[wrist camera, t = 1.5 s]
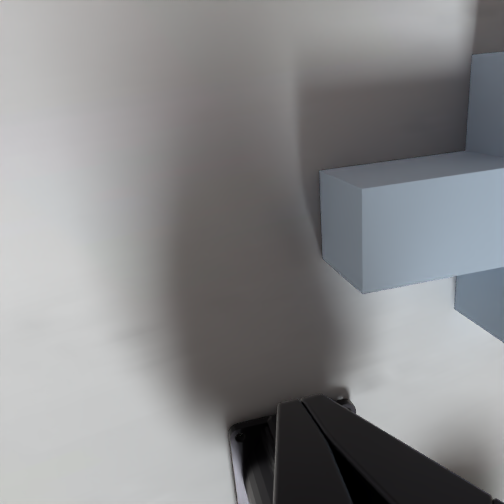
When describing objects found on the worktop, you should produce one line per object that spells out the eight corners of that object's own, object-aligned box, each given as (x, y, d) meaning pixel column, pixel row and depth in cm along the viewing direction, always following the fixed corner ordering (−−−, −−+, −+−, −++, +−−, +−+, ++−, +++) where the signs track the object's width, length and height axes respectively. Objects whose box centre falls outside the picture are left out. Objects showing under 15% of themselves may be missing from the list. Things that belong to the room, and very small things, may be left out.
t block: (521, 294, 25) (590, 330, 21) (325, 335, 23) (363, 383, 19) (552, 47, 20) (644, 38, 17) (315, 69, 18) (361, 64, 15)
